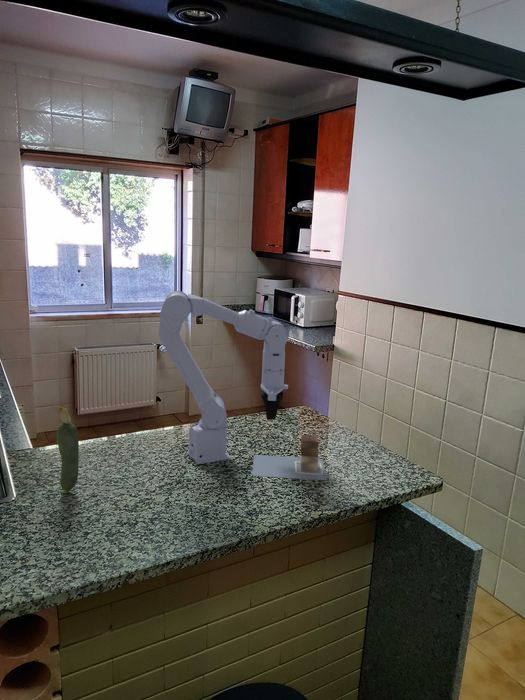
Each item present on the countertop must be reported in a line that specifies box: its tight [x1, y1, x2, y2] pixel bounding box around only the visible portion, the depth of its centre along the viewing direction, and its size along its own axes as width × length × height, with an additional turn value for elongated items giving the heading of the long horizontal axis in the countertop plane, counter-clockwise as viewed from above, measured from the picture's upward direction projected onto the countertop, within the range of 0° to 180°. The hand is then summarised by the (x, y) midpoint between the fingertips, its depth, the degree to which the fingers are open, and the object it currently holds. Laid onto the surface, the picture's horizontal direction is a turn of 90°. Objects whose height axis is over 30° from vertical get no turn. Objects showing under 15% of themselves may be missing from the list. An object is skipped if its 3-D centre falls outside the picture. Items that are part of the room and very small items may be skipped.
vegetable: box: [56, 406, 80, 494], centre depth 108 cm, size 4×4×20 cm
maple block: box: [300, 455, 319, 472], centre depth 126 cm, size 4×4×4 cm
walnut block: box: [300, 434, 320, 458], centre depth 126 cm, size 4×4×4 cm
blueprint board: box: [251, 454, 327, 481], centre depth 127 cm, size 18×12×1 cm, turn 88°
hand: (271, 418), depth 132 cm, fingers closed
